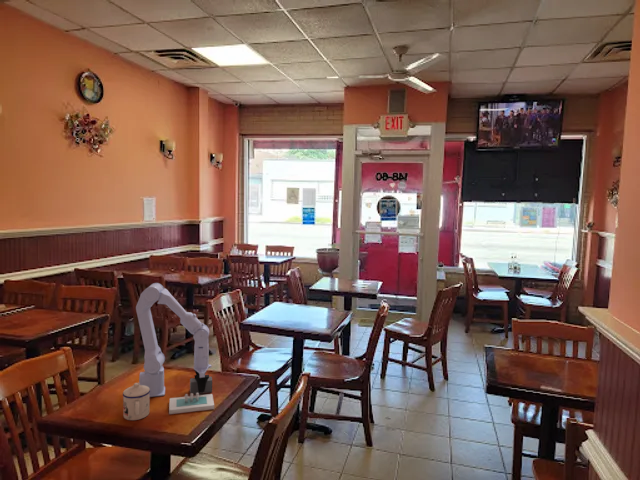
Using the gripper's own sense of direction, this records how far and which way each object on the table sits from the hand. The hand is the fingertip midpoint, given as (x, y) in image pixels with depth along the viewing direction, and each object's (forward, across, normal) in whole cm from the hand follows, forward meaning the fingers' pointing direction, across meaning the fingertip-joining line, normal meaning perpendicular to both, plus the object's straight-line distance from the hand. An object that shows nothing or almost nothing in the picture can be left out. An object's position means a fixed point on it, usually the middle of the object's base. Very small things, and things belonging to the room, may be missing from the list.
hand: (201, 387), depth 175 cm
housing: (+1, 0, 0) cm, 1 cm away
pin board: (+1, -12, +4) cm, 13 cm away
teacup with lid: (+2, -16, +23) cm, 28 cm away
